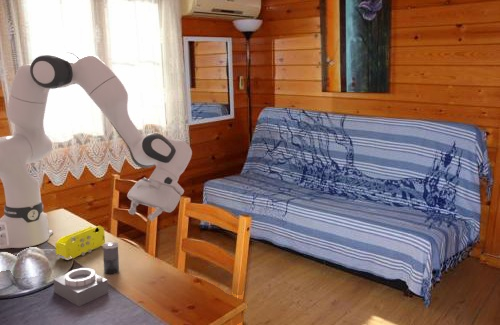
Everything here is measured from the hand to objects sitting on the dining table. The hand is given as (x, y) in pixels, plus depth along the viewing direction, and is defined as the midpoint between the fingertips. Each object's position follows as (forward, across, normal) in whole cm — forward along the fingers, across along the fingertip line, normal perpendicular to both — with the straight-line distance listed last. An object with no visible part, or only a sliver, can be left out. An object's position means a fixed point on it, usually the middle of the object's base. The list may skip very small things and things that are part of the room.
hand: (140, 216), depth 135 cm
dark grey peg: (+19, 0, +2) cm, 19 cm away
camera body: (+28, +4, -7) cm, 29 cm away
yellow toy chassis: (+17, -20, +4) cm, 27 cm away
